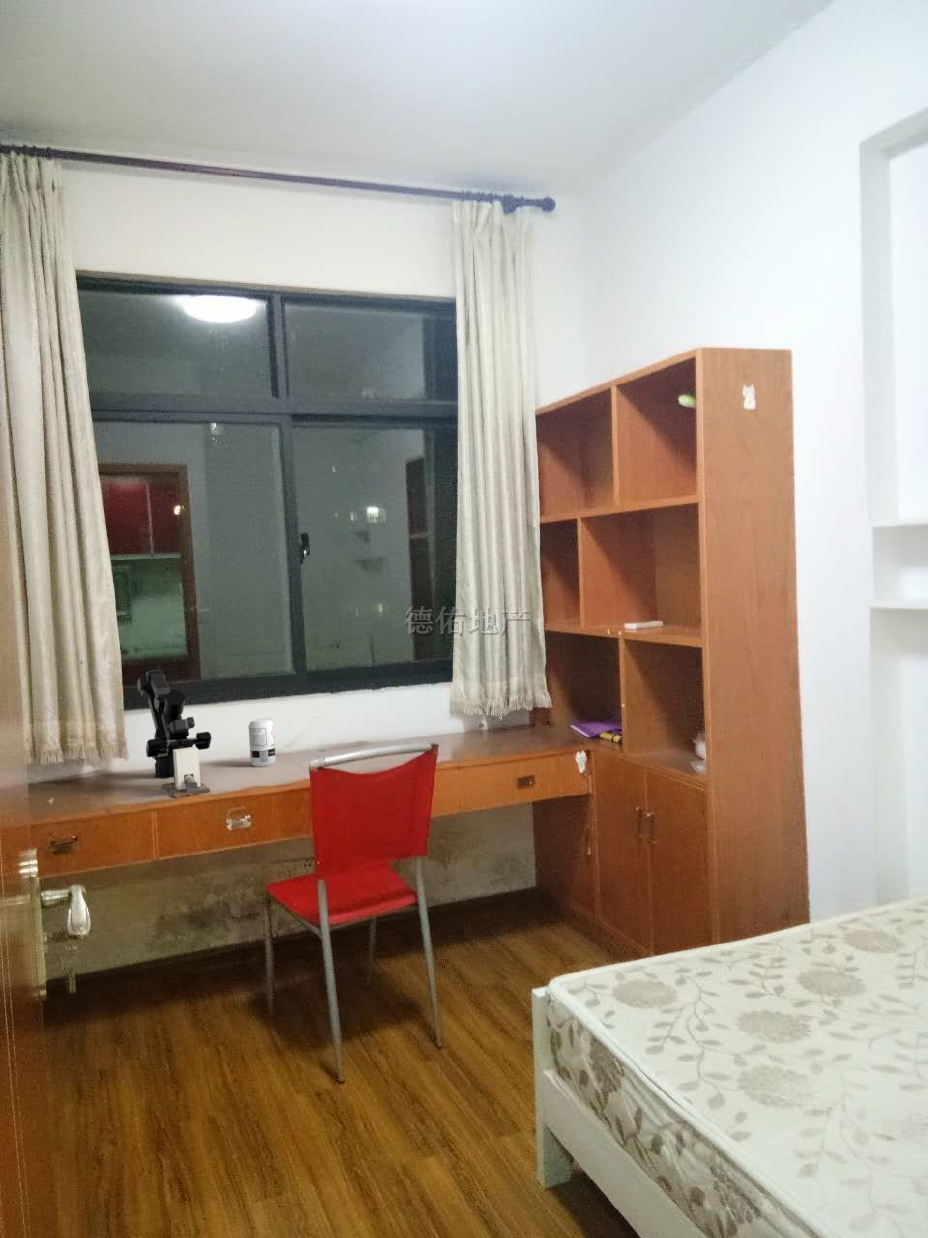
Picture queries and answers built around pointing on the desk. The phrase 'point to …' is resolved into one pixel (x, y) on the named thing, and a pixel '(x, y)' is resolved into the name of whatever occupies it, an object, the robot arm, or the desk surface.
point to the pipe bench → (190, 787)
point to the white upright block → (186, 766)
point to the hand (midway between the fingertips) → (184, 766)
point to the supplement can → (262, 742)
